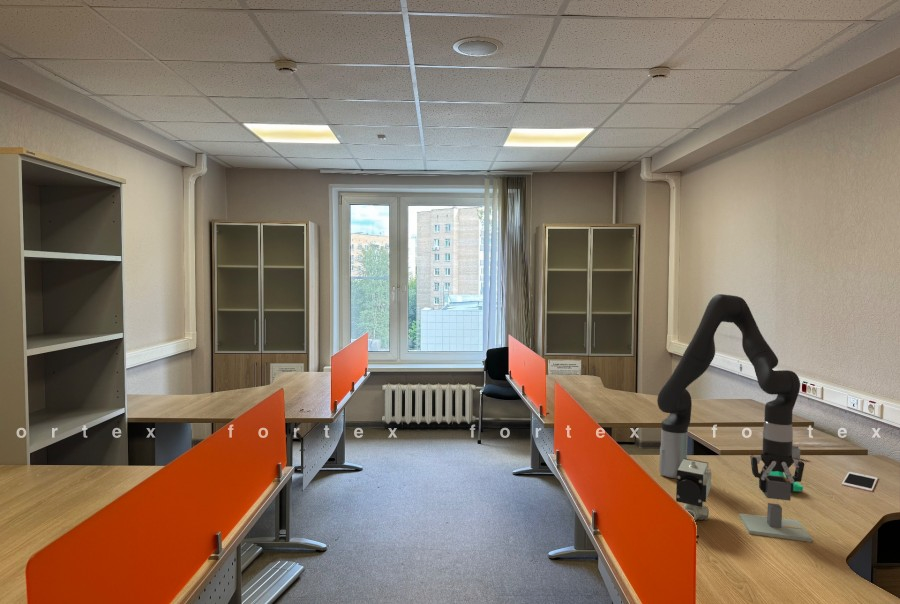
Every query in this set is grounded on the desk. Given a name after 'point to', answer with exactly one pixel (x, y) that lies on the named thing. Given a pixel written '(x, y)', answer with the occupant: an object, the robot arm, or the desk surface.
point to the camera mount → (795, 486)
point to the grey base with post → (775, 525)
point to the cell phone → (860, 481)
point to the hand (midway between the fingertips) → (775, 492)
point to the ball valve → (694, 487)
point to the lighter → (795, 452)
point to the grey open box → (778, 487)
